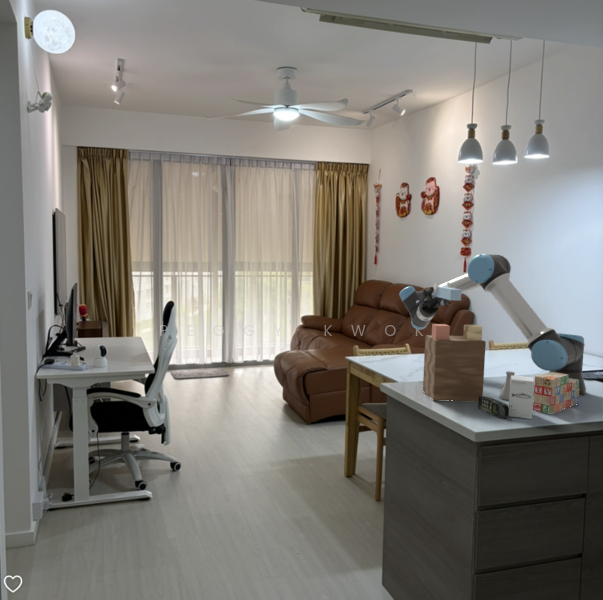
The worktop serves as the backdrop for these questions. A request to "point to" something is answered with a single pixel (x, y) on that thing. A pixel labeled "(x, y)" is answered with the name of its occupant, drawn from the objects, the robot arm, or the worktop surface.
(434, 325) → the brick cube
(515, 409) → the supplement box
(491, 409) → the mobile phone
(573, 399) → the stack of blocks
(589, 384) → the worktop surface
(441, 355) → the walnut stand
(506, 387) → the flask
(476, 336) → the oak cube
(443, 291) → the blue bar
